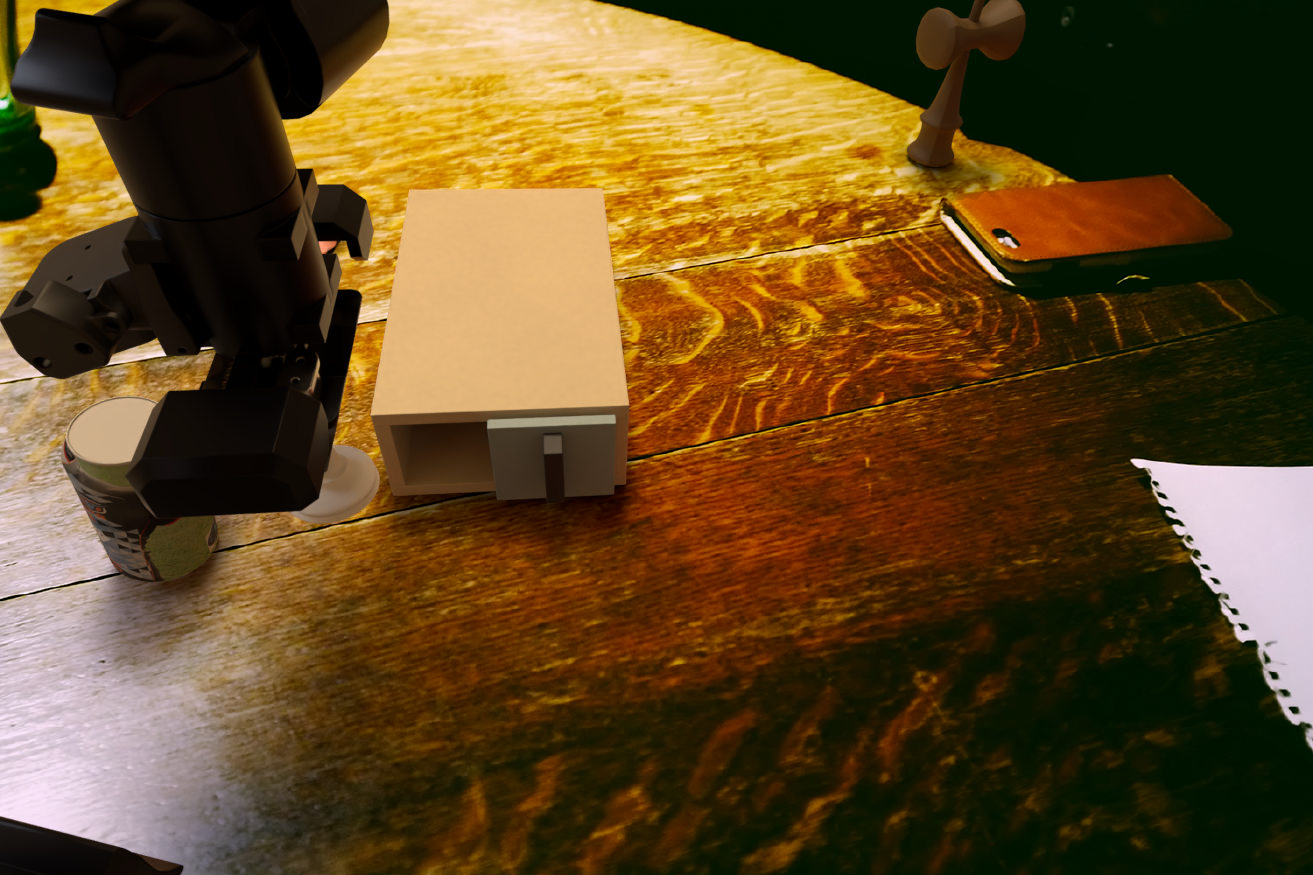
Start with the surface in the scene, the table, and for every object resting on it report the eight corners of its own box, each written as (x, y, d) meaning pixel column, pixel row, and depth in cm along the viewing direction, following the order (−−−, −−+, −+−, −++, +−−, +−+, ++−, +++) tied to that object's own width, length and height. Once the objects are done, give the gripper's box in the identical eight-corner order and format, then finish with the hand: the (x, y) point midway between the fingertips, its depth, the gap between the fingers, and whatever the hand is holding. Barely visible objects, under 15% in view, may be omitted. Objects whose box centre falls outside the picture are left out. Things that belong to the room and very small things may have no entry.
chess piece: (342, 536, 42) (288, 398, 34) (262, 505, 43) (192, 364, 35) (398, 469, 45) (359, 328, 38) (322, 441, 46) (269, 299, 39)
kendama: (978, 164, 92) (1051, -30, 78) (911, 180, 89) (974, -20, 74) (944, 139, 96) (1007, -51, 81) (878, 154, 93) (931, -42, 78)
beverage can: (136, 515, 54) (47, 383, 45) (253, 509, 55) (188, 379, 46) (104, 598, 50) (-1, 470, 41) (231, 590, 51) (155, 463, 42)
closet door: (616, 515, 56) (618, 444, 50) (496, 521, 55) (486, 450, 50) (613, 485, 57) (615, 414, 52) (497, 491, 57) (487, 419, 51)
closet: (625, 484, 58) (629, 405, 52) (393, 496, 56) (369, 415, 50) (602, 266, 76) (602, 187, 70) (423, 269, 74) (409, 189, 68)
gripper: (72, 65, 36) (200, 338, 47) (-166, 356, 23) (87, 629, 35) (338, 67, 37) (400, 332, 48) (246, 343, 25) (359, 611, 36)
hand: (320, 454), depth 42 cm, fingers closed on chess piece
